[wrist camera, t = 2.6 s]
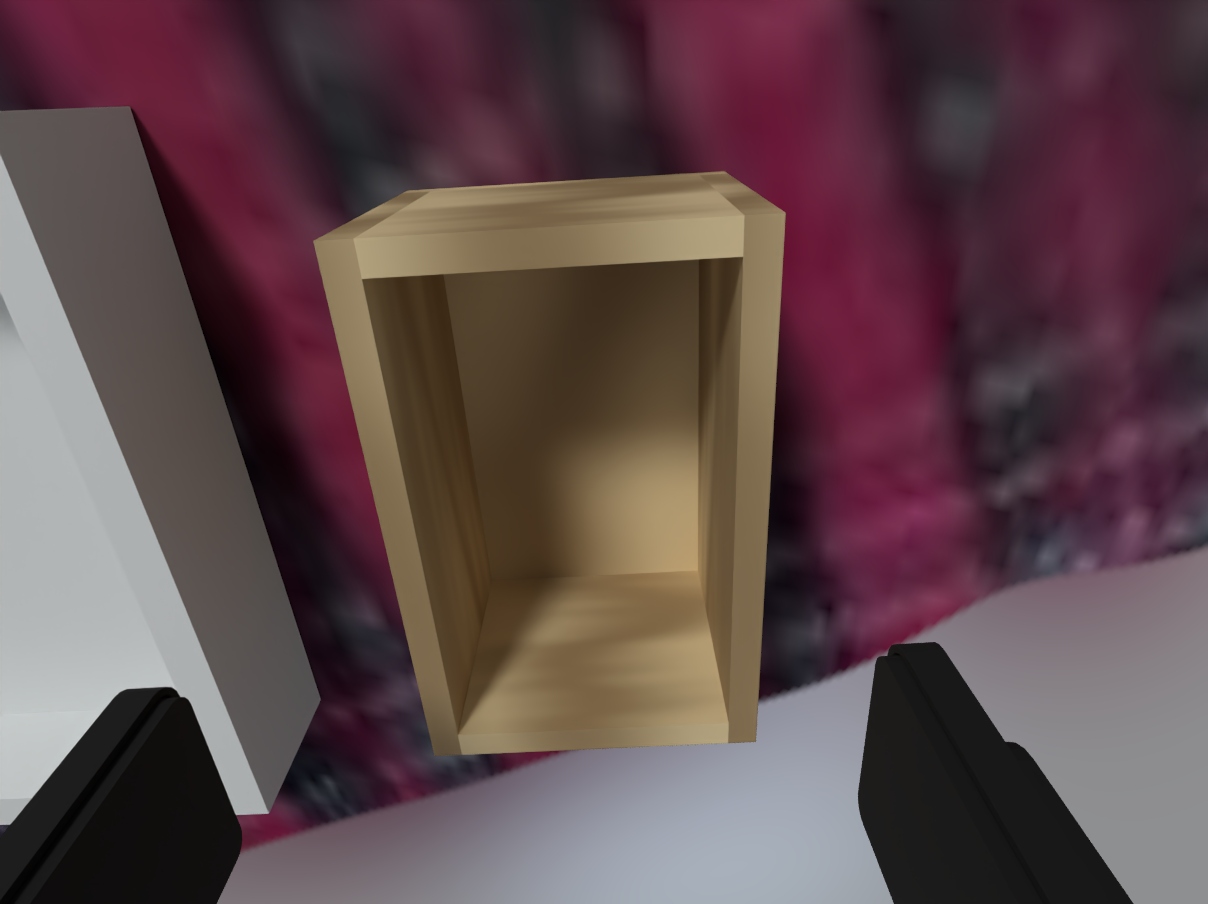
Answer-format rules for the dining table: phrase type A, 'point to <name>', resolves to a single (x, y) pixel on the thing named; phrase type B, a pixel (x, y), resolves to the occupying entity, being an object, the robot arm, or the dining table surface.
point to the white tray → (123, 478)
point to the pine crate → (570, 450)
